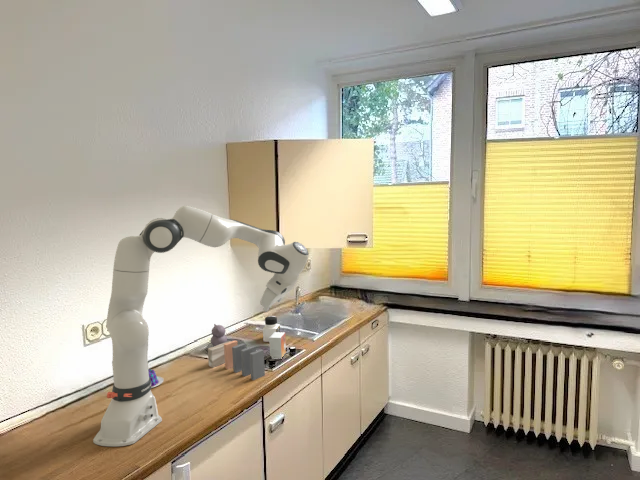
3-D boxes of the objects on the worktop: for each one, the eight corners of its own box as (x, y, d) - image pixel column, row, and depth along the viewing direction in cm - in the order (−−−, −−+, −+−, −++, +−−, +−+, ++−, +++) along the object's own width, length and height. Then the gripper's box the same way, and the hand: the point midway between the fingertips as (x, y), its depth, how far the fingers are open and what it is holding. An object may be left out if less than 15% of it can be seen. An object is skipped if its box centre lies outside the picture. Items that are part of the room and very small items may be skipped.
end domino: (238, 364, 199) (237, 341, 197) (227, 369, 194) (226, 345, 193) (236, 363, 200) (234, 340, 198) (225, 368, 195) (223, 344, 194)
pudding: (143, 377, 190) (142, 365, 189) (169, 378, 188) (168, 366, 187) (126, 390, 178) (124, 377, 177) (153, 391, 176) (152, 379, 175)
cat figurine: (229, 350, 216) (228, 326, 214) (213, 353, 213) (211, 329, 211) (225, 344, 224) (224, 321, 222) (209, 347, 220) (208, 324, 219)
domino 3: (264, 375, 187) (263, 350, 186) (253, 380, 183) (252, 354, 181) (262, 374, 188) (260, 349, 187) (250, 379, 184) (249, 353, 182)
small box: (281, 360, 202) (280, 338, 201) (269, 359, 203) (268, 337, 202) (286, 353, 210) (285, 332, 209) (275, 353, 211) (274, 331, 210)
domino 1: (247, 368, 195) (245, 344, 193) (236, 372, 190) (234, 348, 189) (244, 367, 196) (243, 343, 195) (233, 371, 192) (232, 347, 190)
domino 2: (255, 371, 191) (254, 347, 190) (244, 376, 187) (243, 351, 185) (253, 370, 192) (251, 346, 191) (242, 375, 188) (240, 350, 186)
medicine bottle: (276, 342, 225) (275, 319, 224) (263, 341, 226) (262, 319, 225) (280, 337, 232) (279, 315, 231) (267, 337, 233) (266, 314, 232)
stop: (234, 359, 205) (233, 342, 204) (212, 367, 197) (211, 350, 195) (230, 357, 207) (229, 340, 206) (208, 365, 198) (207, 348, 197)
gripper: (291, 265, 181) (279, 290, 187) (264, 284, 163) (251, 311, 170) (304, 274, 180) (290, 299, 186) (278, 294, 162) (264, 321, 169)
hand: (271, 305), depth 178 cm, fingers open, 8 cm apart
